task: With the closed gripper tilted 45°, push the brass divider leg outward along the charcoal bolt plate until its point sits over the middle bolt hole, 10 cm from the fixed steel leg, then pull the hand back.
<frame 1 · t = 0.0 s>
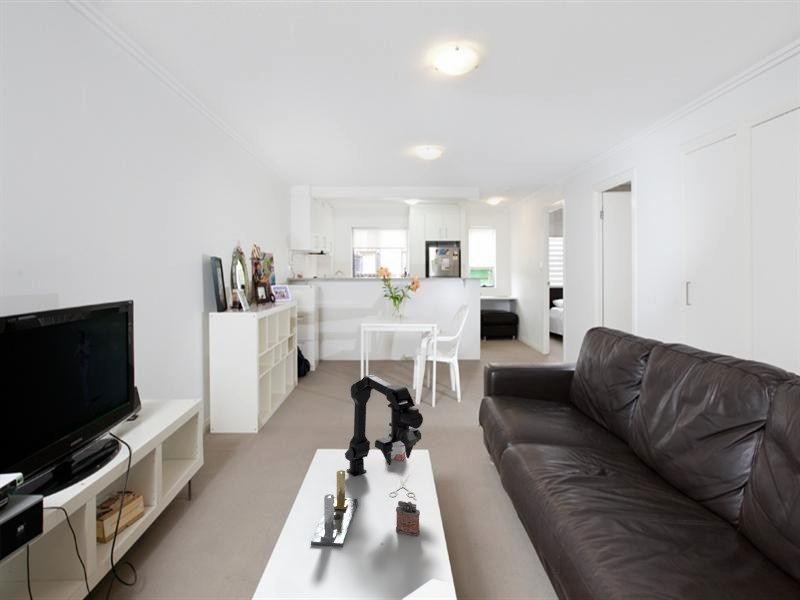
hand: (398, 461, 146), 15 cm above the table, tool pointing down, fingers open, 9 cm apart
divider leg: (340, 489, 139), point 8 cm above the table, slide at -6.0 cm
lighter: (407, 532, 127), on the table
bolt plate: (336, 520, 133), on the table
ink cartridge box: (395, 457, 182), on the table
scissors: (403, 487, 157), on the table
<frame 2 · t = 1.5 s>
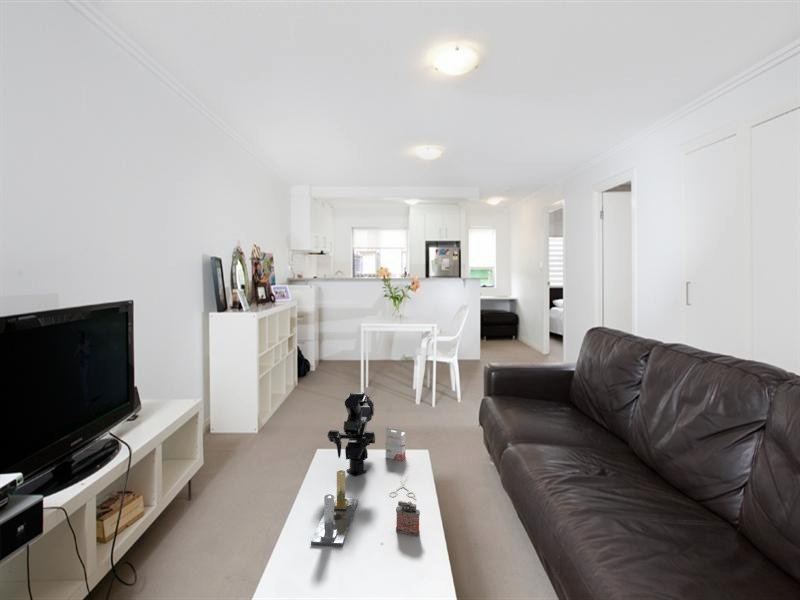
hand: (348, 458, 151), 13 cm above the table, tool tilted 45°, fingers open, 7 cm apart
nothing on the table moved.
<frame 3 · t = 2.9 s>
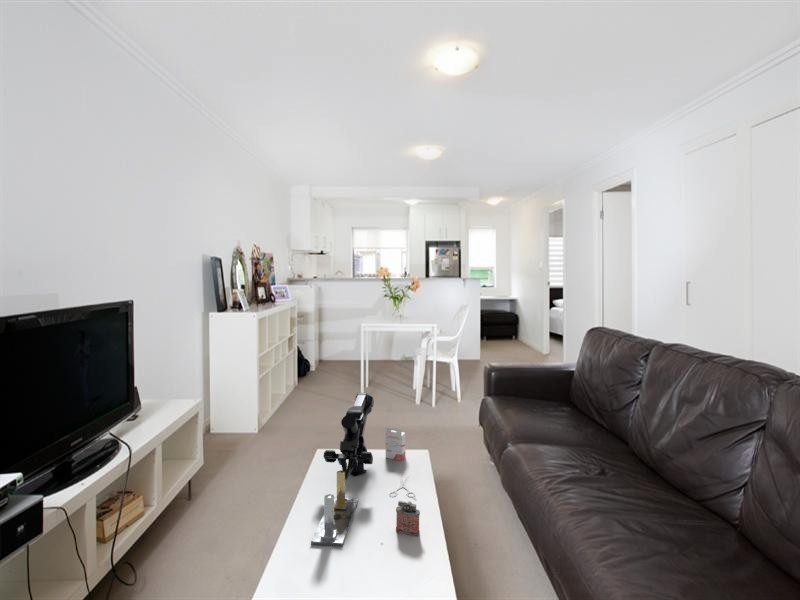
hand: (344, 479, 145), 8 cm above the table, tool tilted 45°, fingers closed
nothing on the table moved.
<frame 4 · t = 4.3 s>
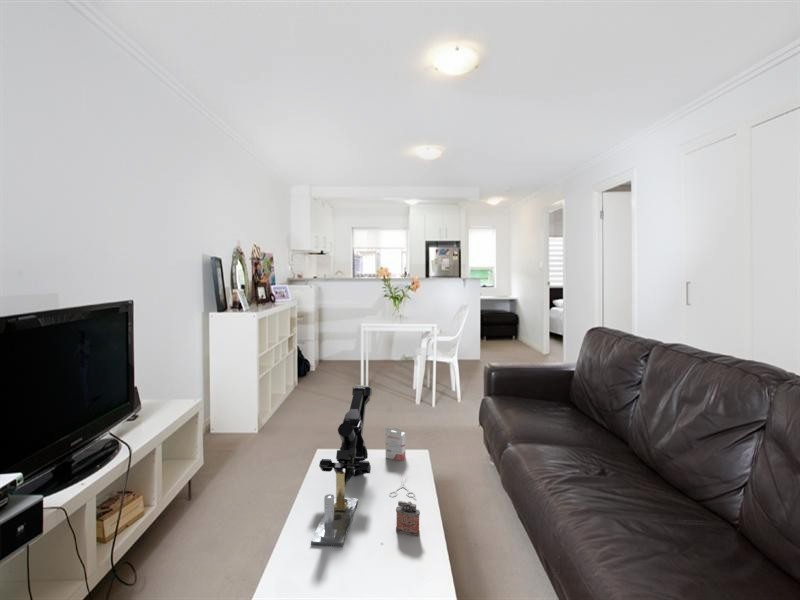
hand: (341, 490, 140), 7 cm above the table, tool tilted 45°, fingers closed, pressing on divider leg
divider leg: (340, 490, 138), point 8 cm above the table, slide at -5.3 cm, touching gripper
everything else where it was.
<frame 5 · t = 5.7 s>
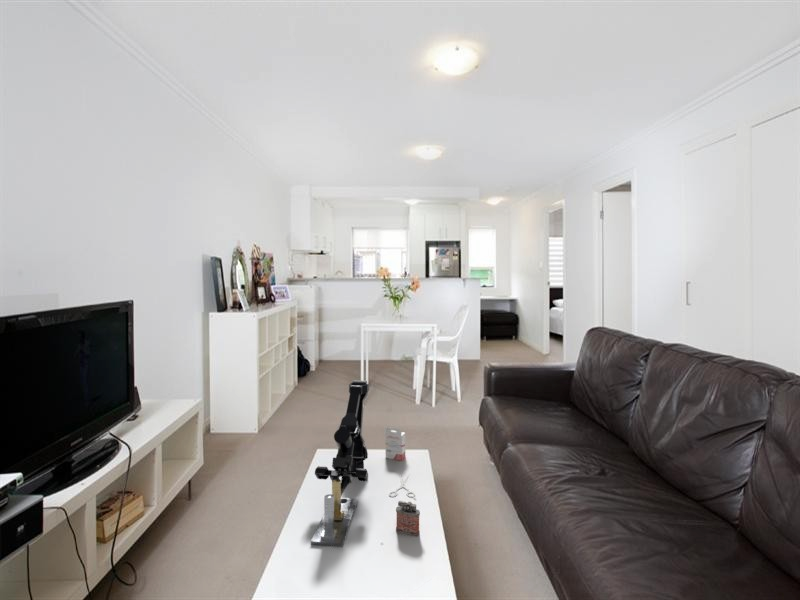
hand: (337, 499, 134), 7 cm above the table, tool tilted 45°, fingers closed, pressing on divider leg
divider leg: (336, 499, 133), point 8 cm above the table, slide at 0.3 cm, touching gripper
everything else where it was.
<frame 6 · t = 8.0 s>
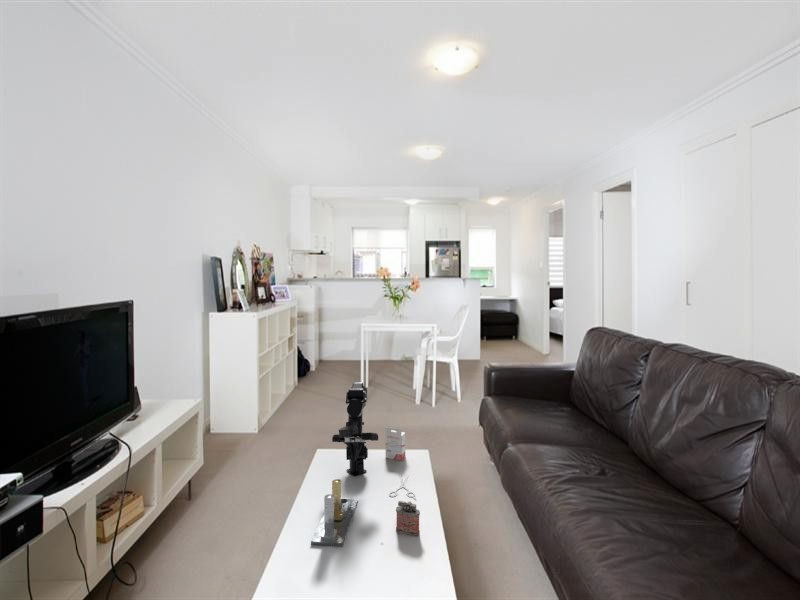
hand: (354, 461, 151), 12 cm above the table, tool tilted 25°, fingers closed
divider leg: (336, 499, 133), point 8 cm above the table, slide at 0.3 cm
everything else where it was.
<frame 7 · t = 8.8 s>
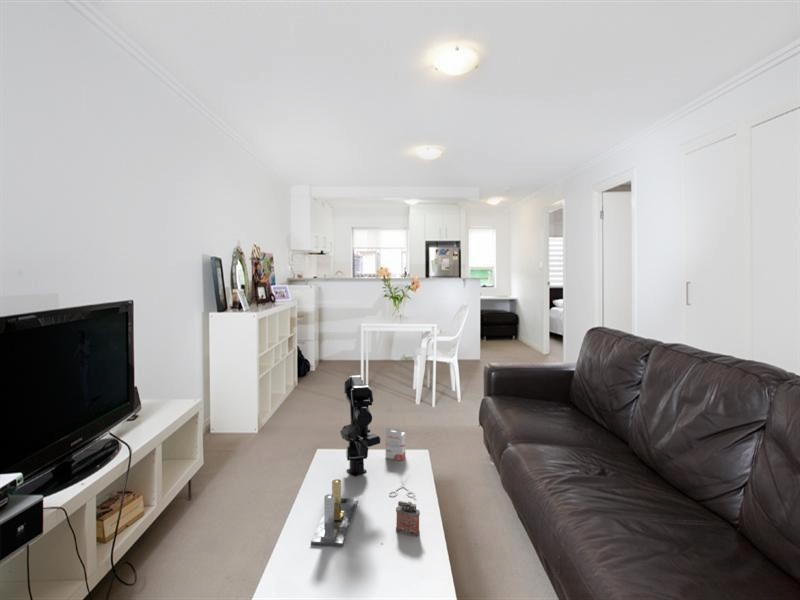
hand: (360, 455, 154), 13 cm above the table, tool pointing down, fingers closed
nothing on the table moved.
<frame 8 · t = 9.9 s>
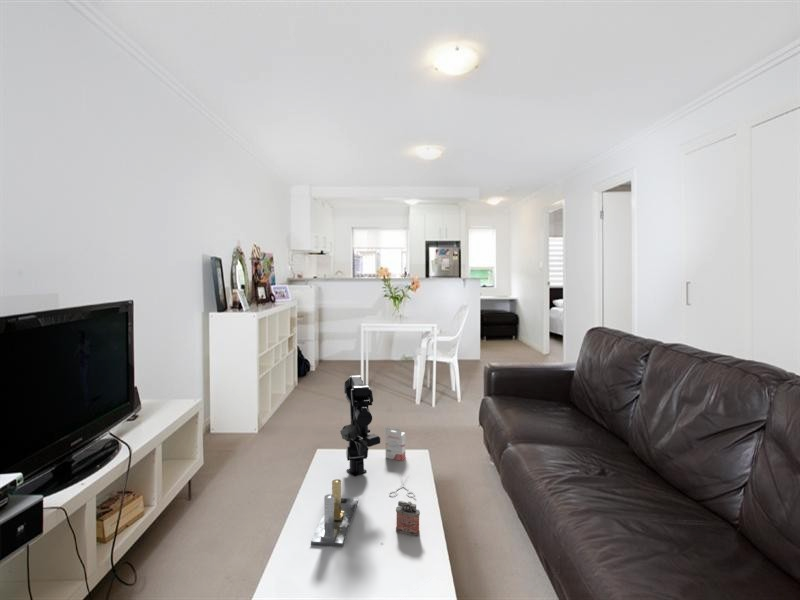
hand: (360, 455, 154), 13 cm above the table, tool pointing down, fingers closed
nothing on the table moved.
at the end: divider leg slide at 0.3 cm; the gripper is holding nothing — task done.
